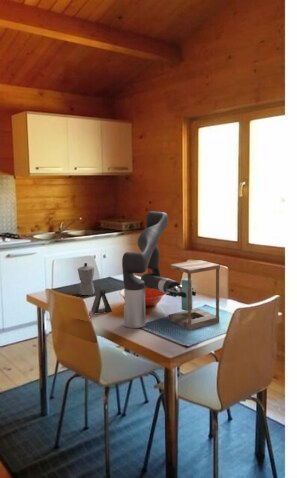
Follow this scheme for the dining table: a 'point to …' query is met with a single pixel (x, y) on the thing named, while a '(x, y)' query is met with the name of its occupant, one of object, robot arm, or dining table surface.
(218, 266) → the tan frame
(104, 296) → the phone stand
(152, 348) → the dining table surface
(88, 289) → the coffeepot
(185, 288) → the peg
